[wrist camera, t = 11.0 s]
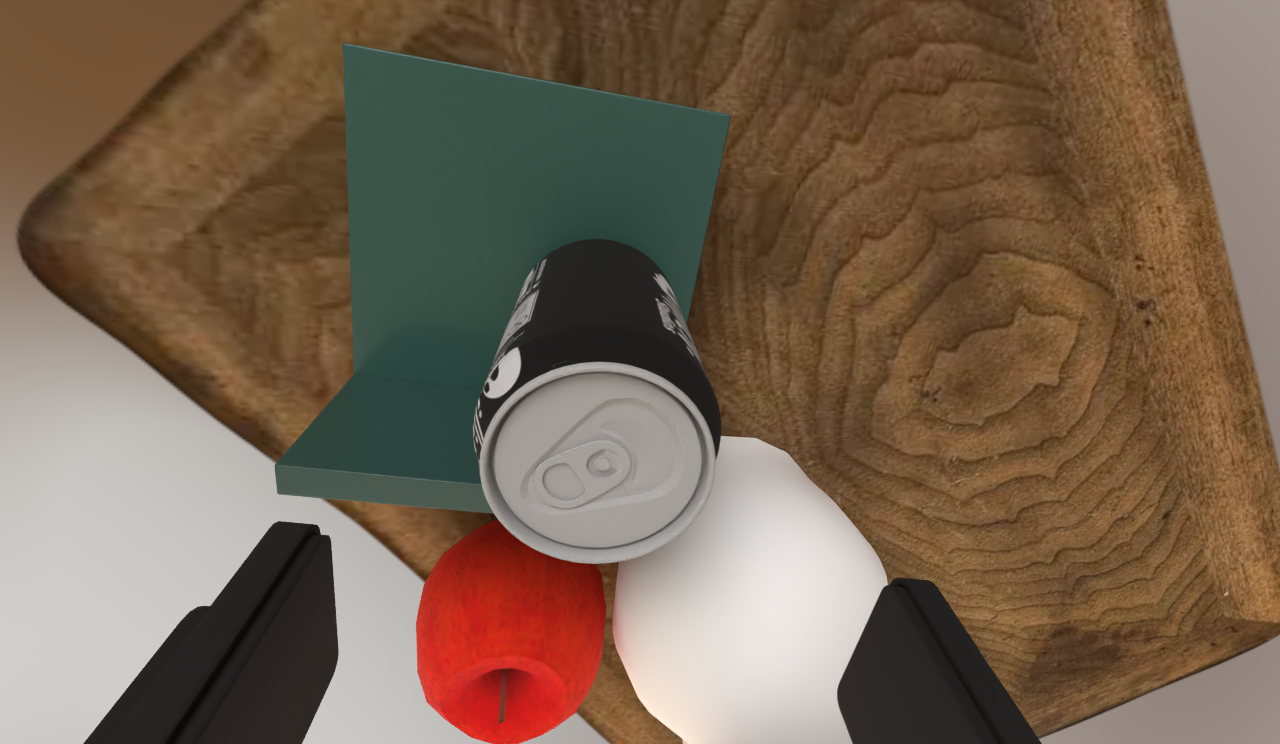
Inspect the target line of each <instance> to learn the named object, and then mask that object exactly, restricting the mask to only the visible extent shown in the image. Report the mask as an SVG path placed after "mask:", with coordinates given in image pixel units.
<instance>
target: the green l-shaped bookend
mask: <svg viewBox="0 0 1280 744" xmlns="http://www.w3.org/2000/svg"><path fill="white" fill-rule="evenodd" d="M343 58H344V88H345V118H346V147H347V177H348V207H349V237H350V267H351V297H352V327H353V357H354V375H353V376H352V378H351V379H350V380H349V381H348V382H347V383H346V384H345V386H344V387H343V388H342V389H341V390H340V391H339V392H338V394H337V395H336V396H335V397H334V398H333V399H332V400H331V402H330V403H329V404H328V405H327V406H326V407H325V408H324V410H323V411H322V412H321V413H320V414H319V415H318V416H317V418H316V419H315V420H314V421H313V422H312V423H311V424H310V426H309V427H308V428H307V429H306V430H305V431H304V432H303V433H302V435H301V436H300V437H299V438H298V439H297V440H296V441H295V443H294V444H293V445H292V446H291V447H290V448H289V449H288V451H287V452H286V453H285V454H284V455H283V456H282V457H281V459H280V460H279V461H278V462H277V463H276V464H275V473H276V483H277V493H278V494H281V495H293V496H303V497H314V498H325V499H337V500H348V501H359V502H370V503H381V504H392V505H403V506H414V507H425V508H437V509H448V510H459V511H470V512H481V513H492V514H494V513H493V511H492V509H491V507H490V506H489V504H488V502H487V499H486V497H485V494H484V491H483V488H482V483H481V478H480V467H479V463H478V460H477V456H476V452H475V448H474V440H473V422H474V415H475V410H476V406H477V403H478V400H479V397H480V395H481V392H482V389H483V387H484V384H485V382H486V379H487V376H488V374H489V371H490V369H491V366H492V364H493V361H494V358H495V356H496V353H497V351H498V348H499V346H500V343H501V340H502V338H503V335H504V333H505V330H506V328H507V325H508V322H509V320H510V317H511V315H512V312H513V309H514V307H515V304H516V302H517V299H518V297H519V294H520V291H521V289H522V286H523V284H524V282H525V280H526V278H527V277H528V275H529V273H530V272H531V271H532V269H533V268H534V267H535V266H536V265H537V264H538V263H539V262H540V261H541V260H542V259H543V258H544V257H545V256H547V255H548V254H549V253H551V252H552V251H554V250H556V249H557V248H560V247H562V246H564V245H566V244H569V243H572V242H576V241H580V240H587V239H606V240H612V241H617V242H621V243H624V244H627V245H629V246H631V247H633V248H635V249H637V250H639V251H641V252H642V253H644V254H645V255H646V256H648V257H649V258H650V259H651V260H652V261H654V262H655V263H656V265H657V266H658V267H659V268H660V269H661V270H662V272H663V273H664V275H665V276H666V278H667V280H668V281H669V283H670V286H671V288H672V290H673V293H674V295H675V298H676V300H677V303H678V305H679V308H680V310H681V313H682V315H683V318H684V320H685V322H686V325H687V322H688V317H689V312H690V307H691V303H692V298H693V293H694V289H695V284H696V279H697V274H698V270H699V265H700V260H701V256H702V251H703V246H704V241H705V237H706V232H707V227H708V223H709V218H710V213H711V208H712V204H713V199H714V194H715V190H716V185H717V180H718V176H719V171H720V166H721V161H722V157H723V152H724V147H725V143H726V138H727V133H728V128H729V124H730V119H731V115H729V114H724V113H719V112H713V111H708V110H703V109H697V108H692V107H687V106H681V105H676V104H670V103H665V102H660V101H654V100H649V99H644V98H638V97H633V96H627V95H622V94H617V93H611V92H606V91H601V90H595V89H590V88H585V87H579V86H574V85H568V84H563V83H558V82H552V81H547V80H542V79H536V78H531V77H525V76H520V75H515V74H509V73H504V72H499V71H493V70H488V69H482V68H477V67H472V66H466V65H461V64H456V63H450V62H445V61H440V60H434V59H429V58H423V57H418V56H413V55H407V54H402V53H397V52H391V51H386V50H380V49H375V48H370V47H364V46H359V45H354V44H348V43H344V44H343Z"/></svg>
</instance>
